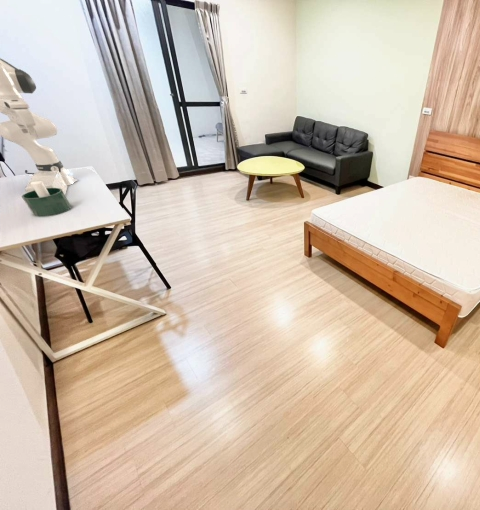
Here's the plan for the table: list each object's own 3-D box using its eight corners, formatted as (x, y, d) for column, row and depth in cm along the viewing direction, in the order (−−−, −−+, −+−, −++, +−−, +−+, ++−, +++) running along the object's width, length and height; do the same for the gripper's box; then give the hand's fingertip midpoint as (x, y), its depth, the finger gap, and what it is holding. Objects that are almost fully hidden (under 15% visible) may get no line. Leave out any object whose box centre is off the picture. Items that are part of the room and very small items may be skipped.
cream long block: (45, 189, 169) (35, 172, 163) (67, 186, 174) (58, 170, 168) (37, 207, 148) (24, 189, 142) (62, 203, 153) (51, 185, 147)
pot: (28, 211, 144) (16, 194, 138) (64, 202, 155) (54, 185, 149) (40, 219, 138) (28, 201, 132) (76, 208, 149) (67, 191, 143)
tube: (51, 211, 144) (34, 184, 135) (45, 210, 145) (28, 183, 136) (60, 208, 147) (44, 181, 139) (53, 207, 148) (37, 180, 140)
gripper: (-6, 101, 128) (13, 132, 135) (10, 104, 119) (29, 137, 127) (12, 100, 132) (29, 130, 140) (29, 103, 124) (46, 135, 132)
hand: (29, 134), depth 134 cm, fingers open, 8 cm apart
